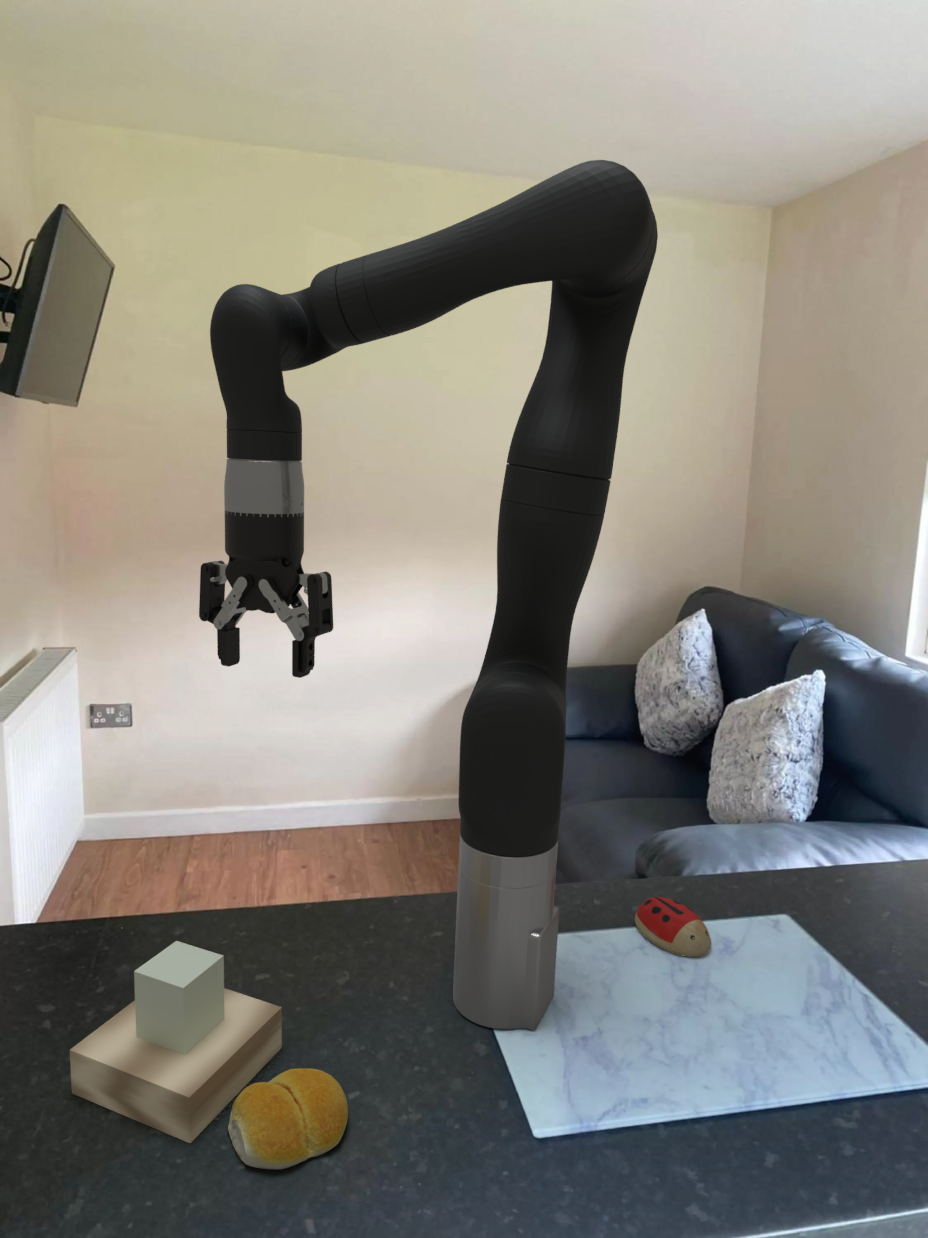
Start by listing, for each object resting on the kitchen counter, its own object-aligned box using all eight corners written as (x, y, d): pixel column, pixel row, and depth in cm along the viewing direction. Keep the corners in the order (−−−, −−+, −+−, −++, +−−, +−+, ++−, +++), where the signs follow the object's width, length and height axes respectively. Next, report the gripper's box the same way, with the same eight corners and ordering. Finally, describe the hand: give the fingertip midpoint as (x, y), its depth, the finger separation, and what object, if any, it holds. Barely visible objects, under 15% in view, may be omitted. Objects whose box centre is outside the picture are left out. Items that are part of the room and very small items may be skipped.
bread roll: (365, 1142, 67) (365, 1097, 67) (253, 1192, 62) (252, 1144, 62) (320, 1076, 74) (321, 1034, 73) (216, 1117, 69) (215, 1073, 68)
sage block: (224, 1019, 74) (223, 955, 73) (184, 1055, 70) (183, 988, 69) (177, 1003, 76) (176, 940, 75) (136, 1037, 72) (134, 971, 71)
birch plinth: (281, 1047, 77) (281, 1007, 76) (190, 1143, 66) (189, 1097, 65) (174, 1009, 82) (173, 971, 81) (71, 1093, 71) (69, 1050, 70)
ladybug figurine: (684, 968, 92) (687, 938, 91) (617, 925, 100) (620, 897, 99) (725, 950, 96) (728, 920, 95) (658, 910, 104) (660, 882, 103)
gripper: (348, 510, 85) (346, 671, 88) (229, 501, 90) (230, 653, 93) (305, 514, 78) (304, 689, 81) (179, 504, 83) (182, 668, 86)
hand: (265, 670), depth 87 cm, fingers open, 8 cm apart
